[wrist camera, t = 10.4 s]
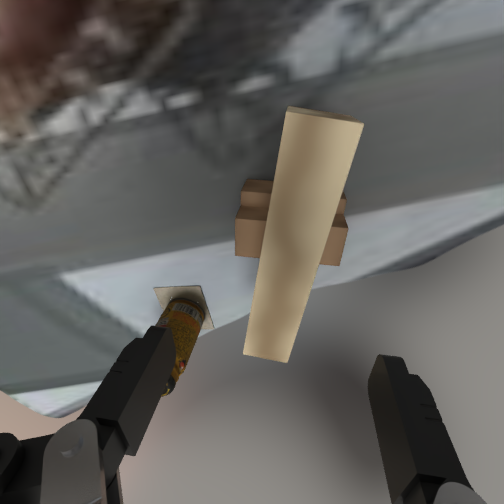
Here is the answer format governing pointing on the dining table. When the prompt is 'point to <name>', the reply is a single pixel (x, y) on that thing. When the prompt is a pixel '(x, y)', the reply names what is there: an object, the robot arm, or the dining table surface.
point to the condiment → (182, 323)
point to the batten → (298, 224)
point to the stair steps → (255, 217)
